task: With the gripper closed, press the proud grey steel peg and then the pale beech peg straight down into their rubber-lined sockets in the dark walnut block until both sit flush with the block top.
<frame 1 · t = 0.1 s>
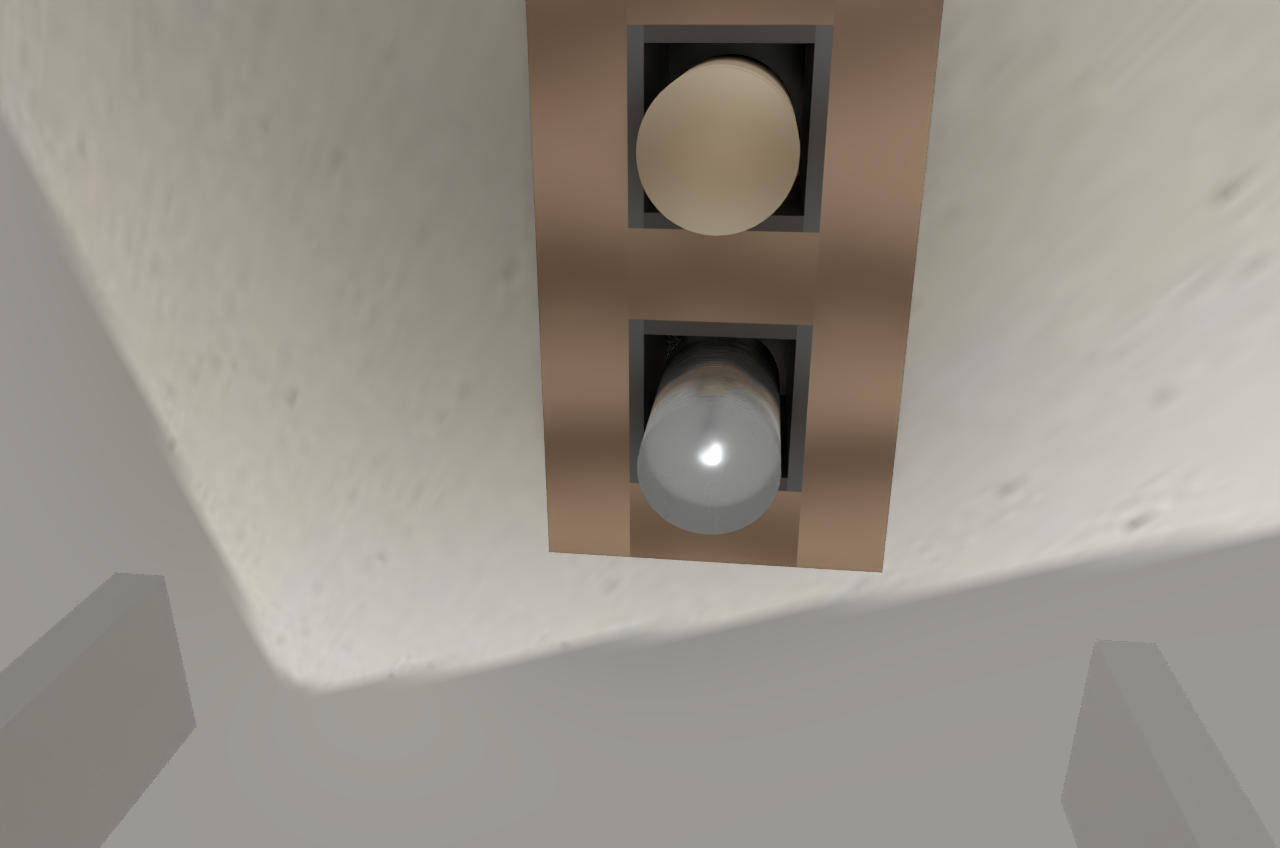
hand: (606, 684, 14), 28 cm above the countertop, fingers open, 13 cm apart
socket block: (731, 226, 39), on the countertop
steel peg: (715, 421, 32), point 9 cm above the countertop, slide at 5.0 cm
beech peg: (723, 136, 29), point 9 cm above the countertop, slide at 5.0 cm
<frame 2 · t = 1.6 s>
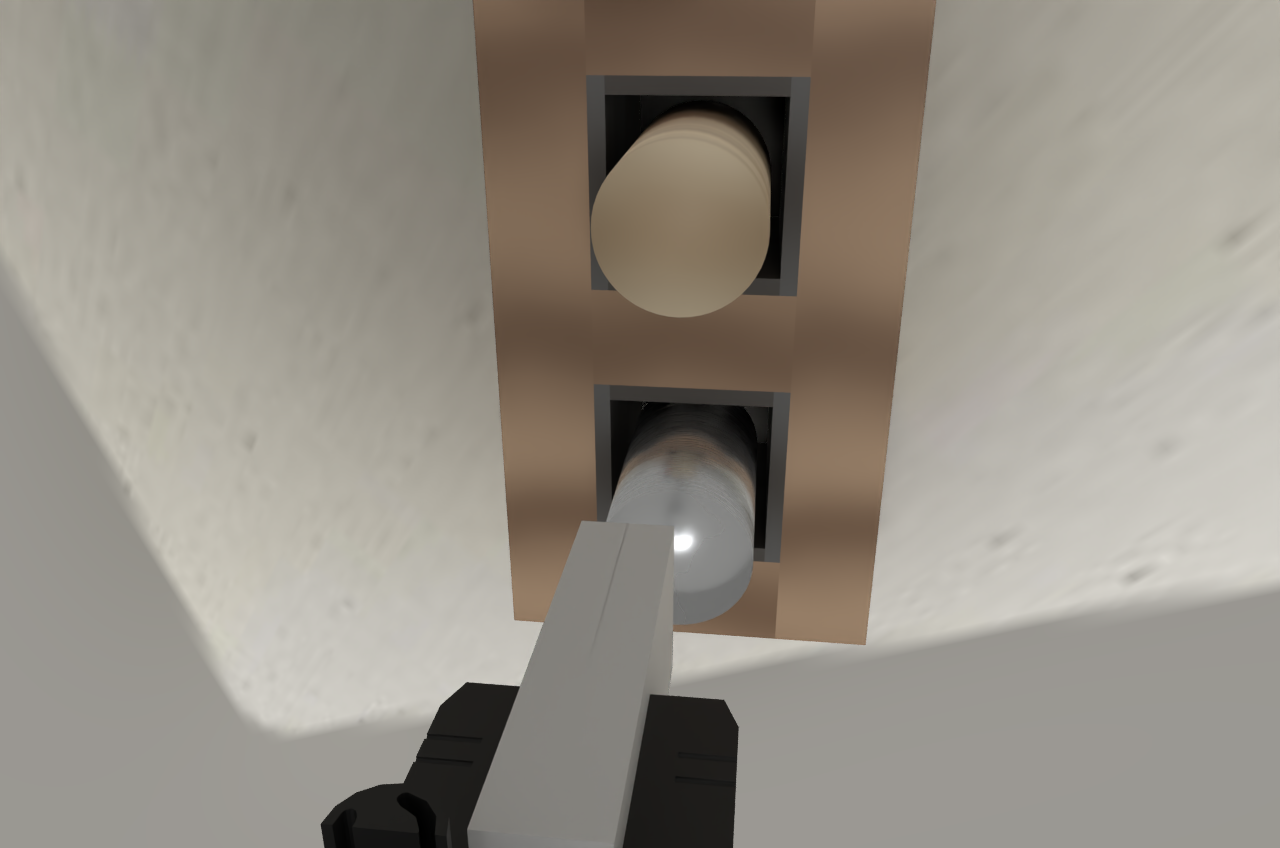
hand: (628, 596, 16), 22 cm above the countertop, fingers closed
socket block: (708, 269, 37), on the countertop
steel peg: (686, 494, 30), point 9 cm above the countertop, slide at 5.0 cm
beech peg: (691, 198, 27), point 9 cm above the countertop, slide at 5.0 cm
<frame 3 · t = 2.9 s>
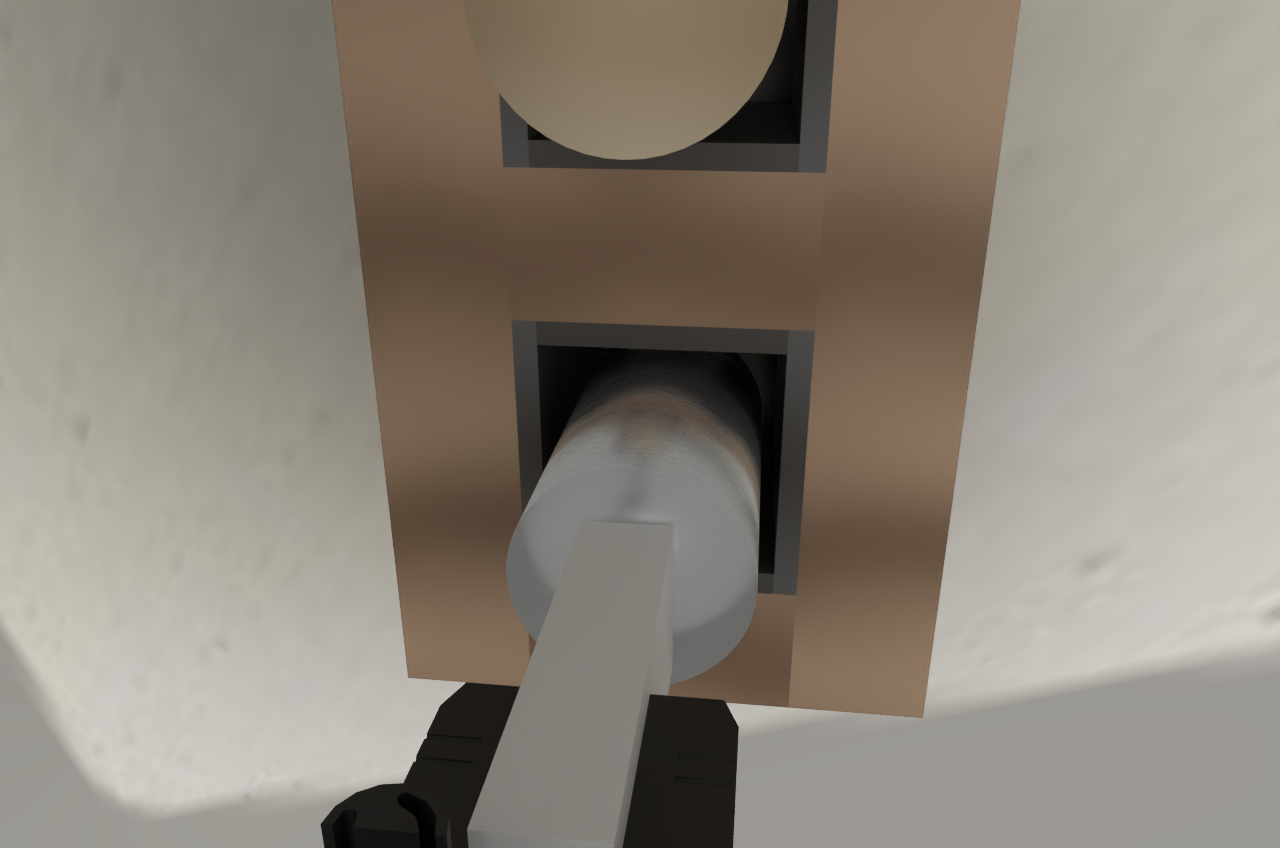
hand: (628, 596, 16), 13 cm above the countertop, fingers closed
socket block: (692, 180, 26), on the countertop
steel peg: (654, 483, 20), point 9 cm above the countertop, slide at 4.7 cm, touching gripper
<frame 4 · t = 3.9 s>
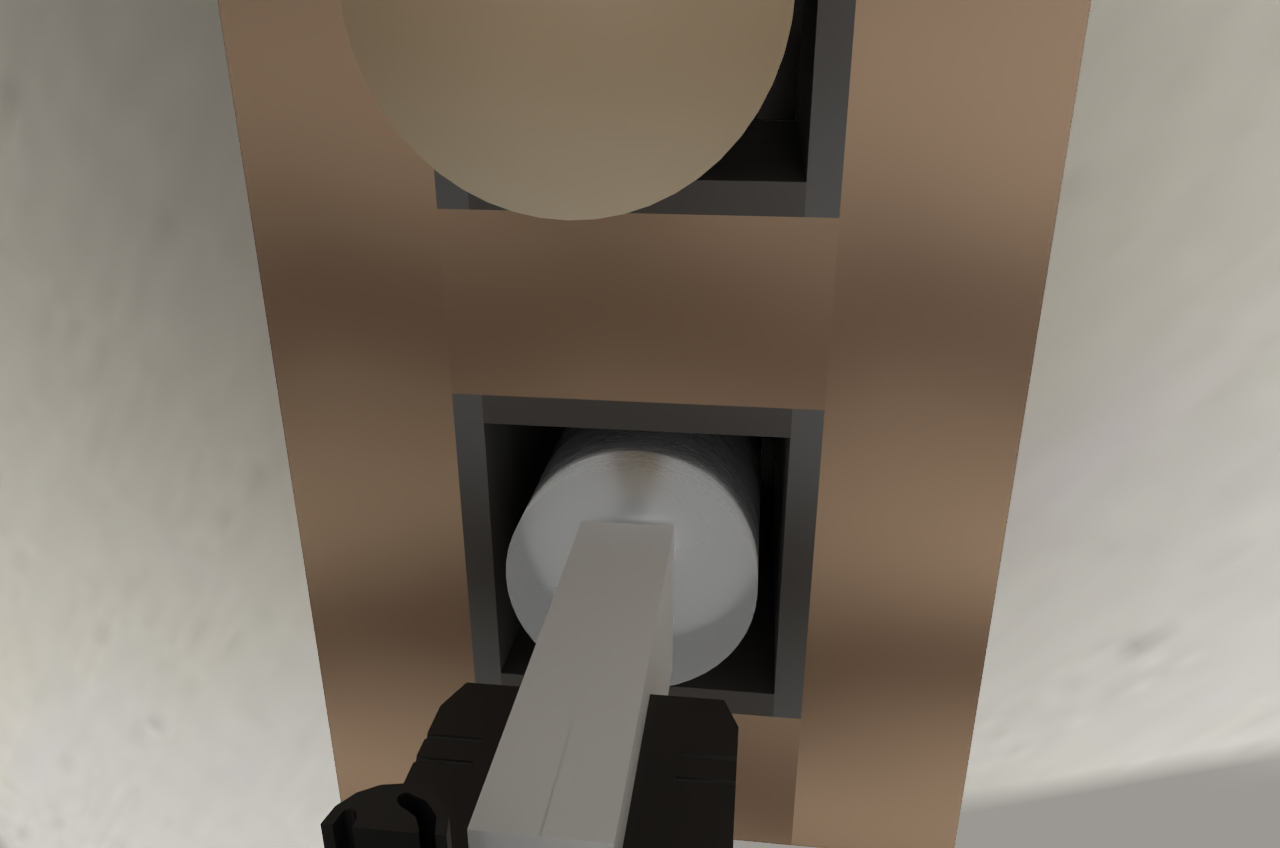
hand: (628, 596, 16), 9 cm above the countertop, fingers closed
socket block: (679, 210, 23), on the countertop
steel peg: (654, 484, 20), point 5 cm above the countertop, slide at 0.7 cm, touching gripper
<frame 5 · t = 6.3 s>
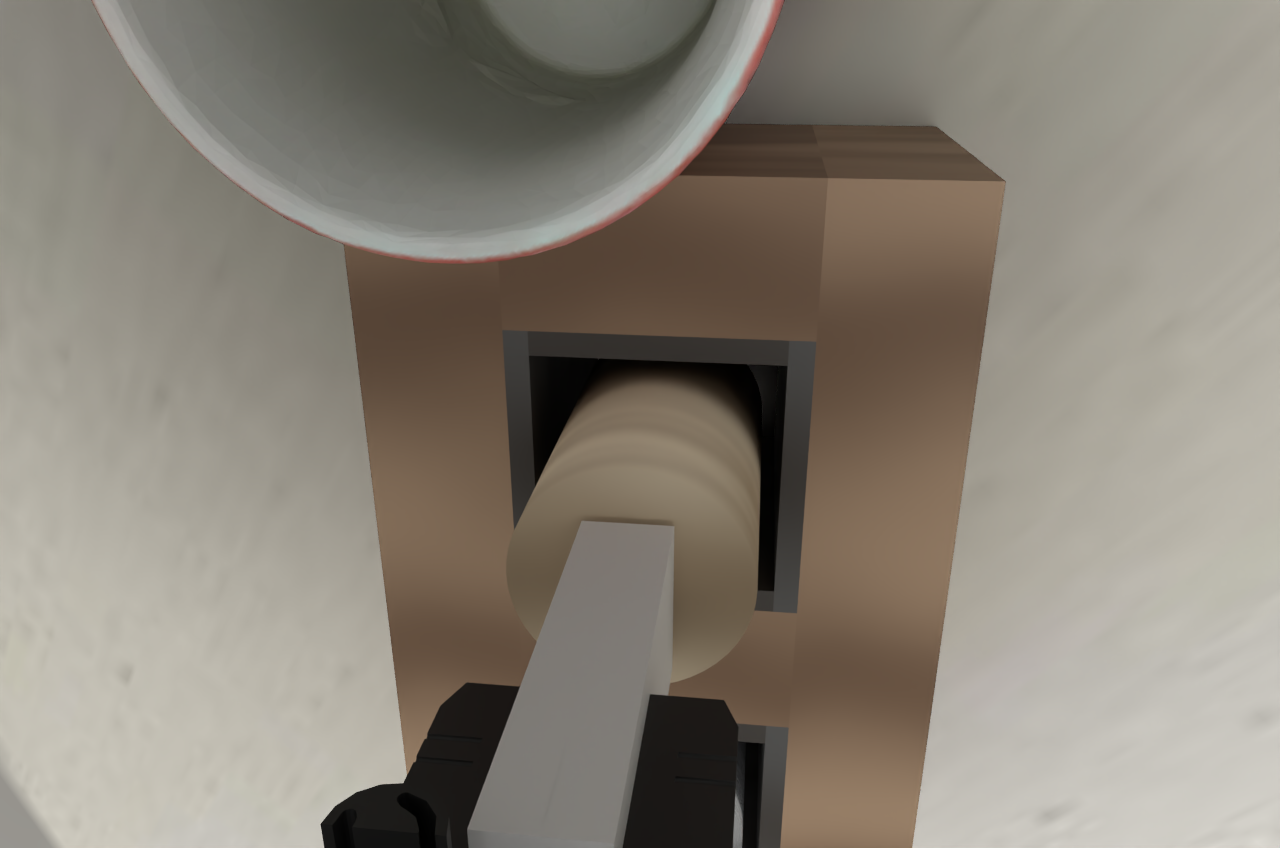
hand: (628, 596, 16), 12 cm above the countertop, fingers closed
socket block: (684, 495, 29), on the countertop
steel peg: (666, 730, 26), point 5 cm above the countertop, slide at 0.6 cm
beech peg: (654, 481, 20), point 8 cm above the countertop, slide at 3.9 cm, touching gripper
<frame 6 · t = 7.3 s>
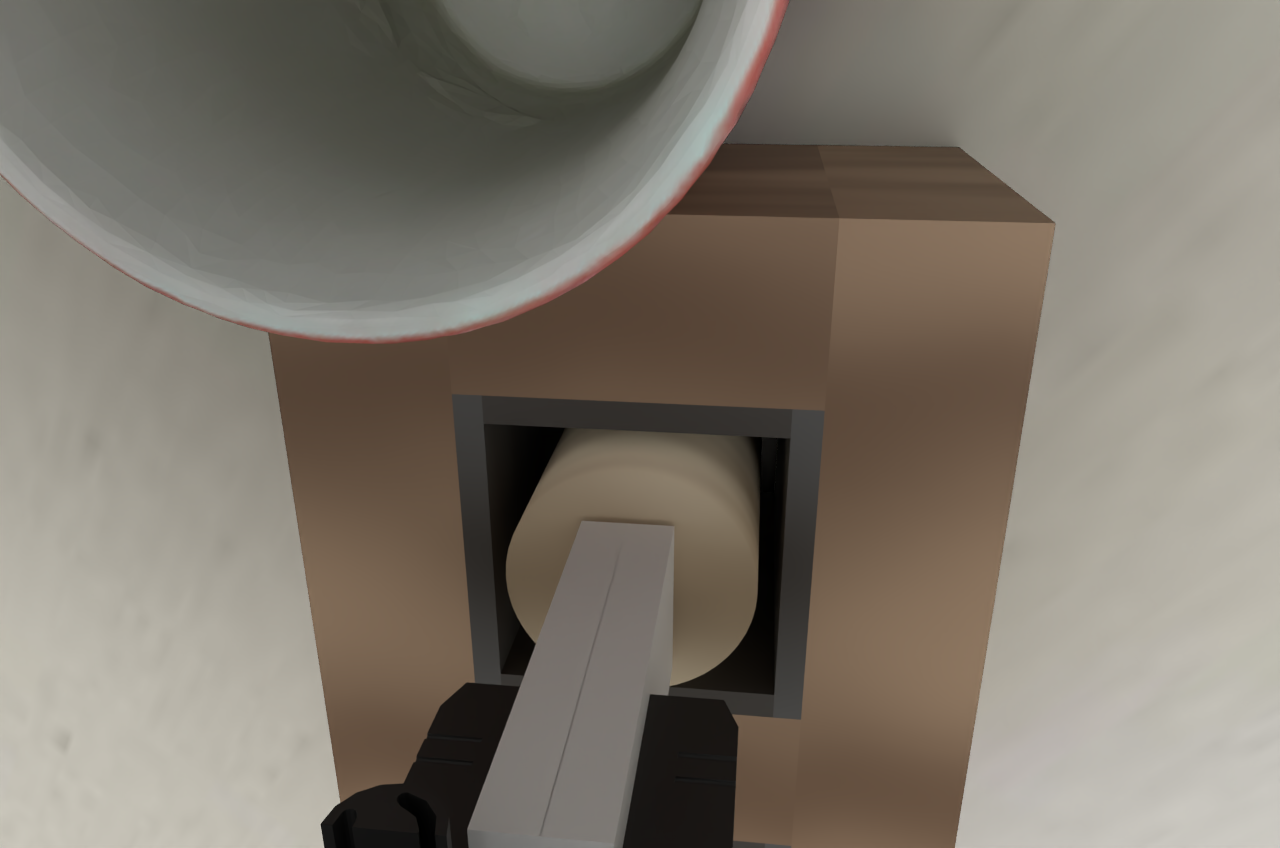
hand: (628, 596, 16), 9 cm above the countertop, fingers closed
socket block: (674, 555, 26), on the countertop
beech peg: (654, 484, 20), point 5 cm above the countertop, slide at 0.6 cm, touching gripper
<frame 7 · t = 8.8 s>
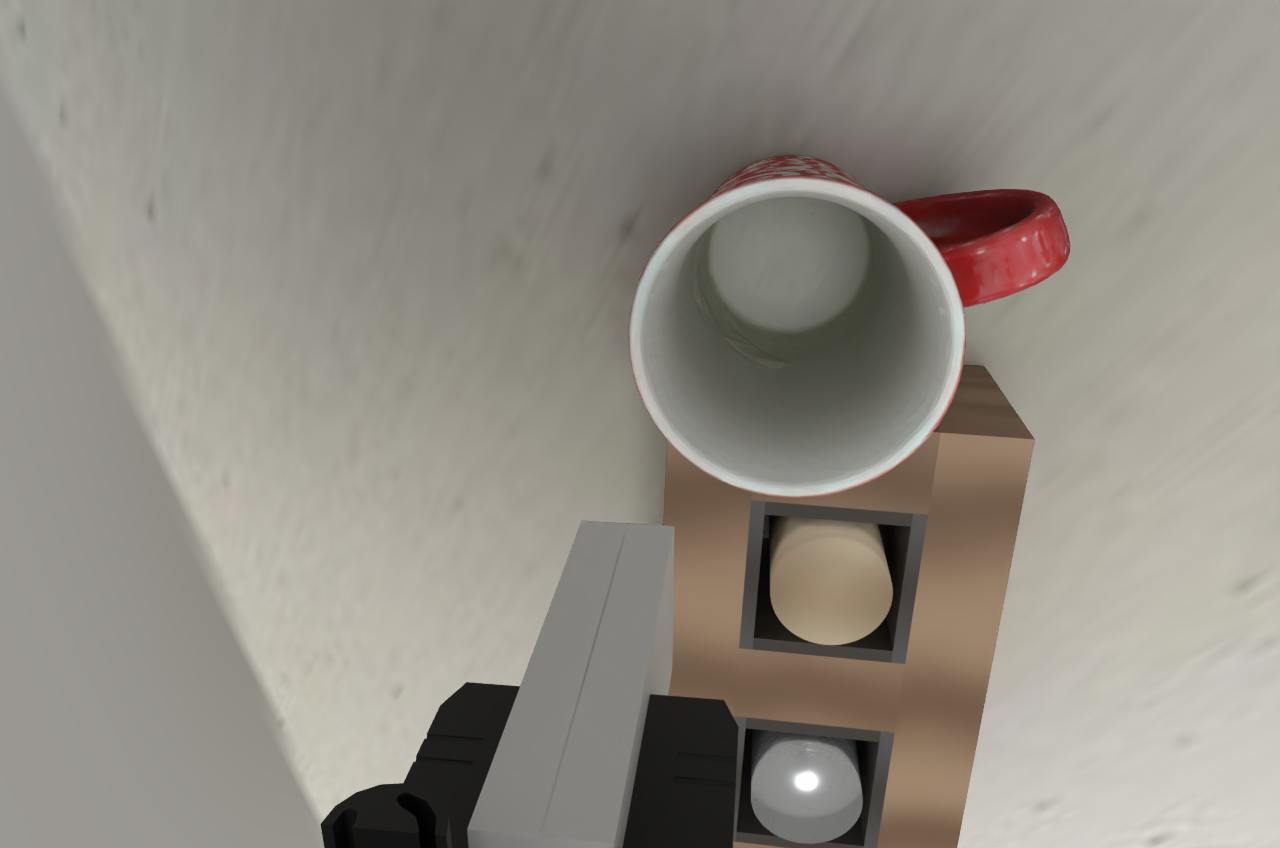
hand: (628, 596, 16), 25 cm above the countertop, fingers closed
socket block: (808, 582, 44), on the countertop
steel peg: (802, 736, 41), point 5 cm above the countertop, slide at 0.6 cm
beech peg: (824, 543, 38), point 5 cm above the countertop, slide at 0.6 cm
mug: (829, 237, 39), on the countertop
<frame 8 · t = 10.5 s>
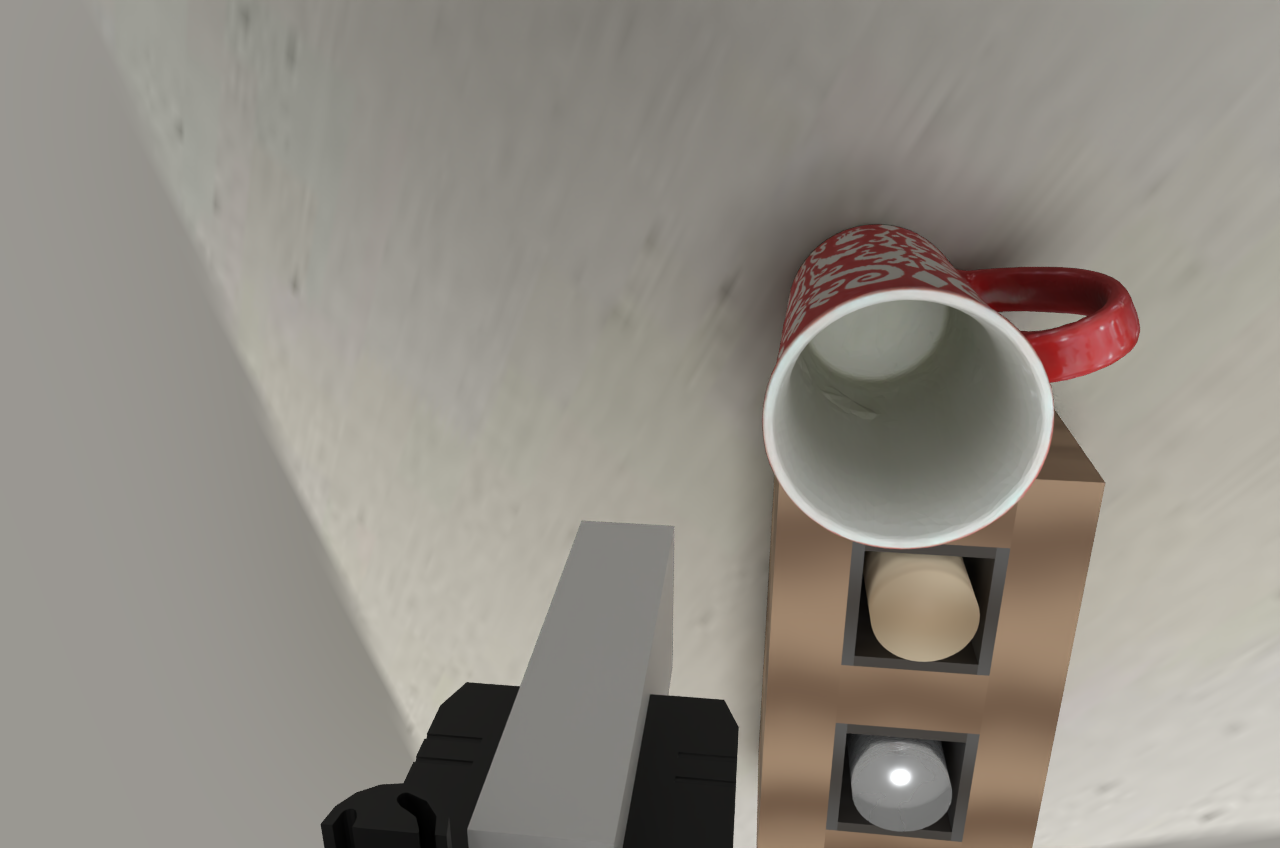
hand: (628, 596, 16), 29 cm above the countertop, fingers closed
socket block: (890, 596, 49), on the countertop
steel peg: (892, 735, 46), point 5 cm above the countertop, slide at 0.6 cm
beech peg: (912, 568, 43), point 5 cm above the countertop, slide at 0.6 cm
mug: (909, 294, 44), on the countertop
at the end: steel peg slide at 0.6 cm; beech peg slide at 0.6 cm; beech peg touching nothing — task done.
